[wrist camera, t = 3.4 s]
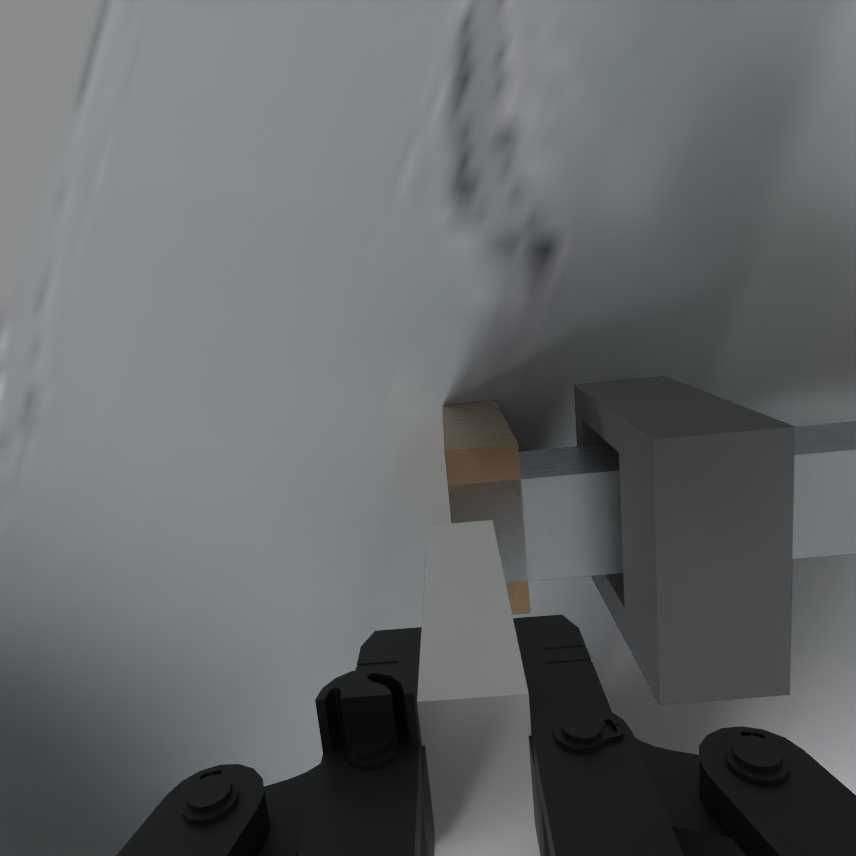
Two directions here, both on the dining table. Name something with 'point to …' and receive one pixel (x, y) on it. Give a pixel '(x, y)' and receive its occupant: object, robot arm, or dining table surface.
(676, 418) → the grey notched bracket
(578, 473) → the grey long bar
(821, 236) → the dining table surface
